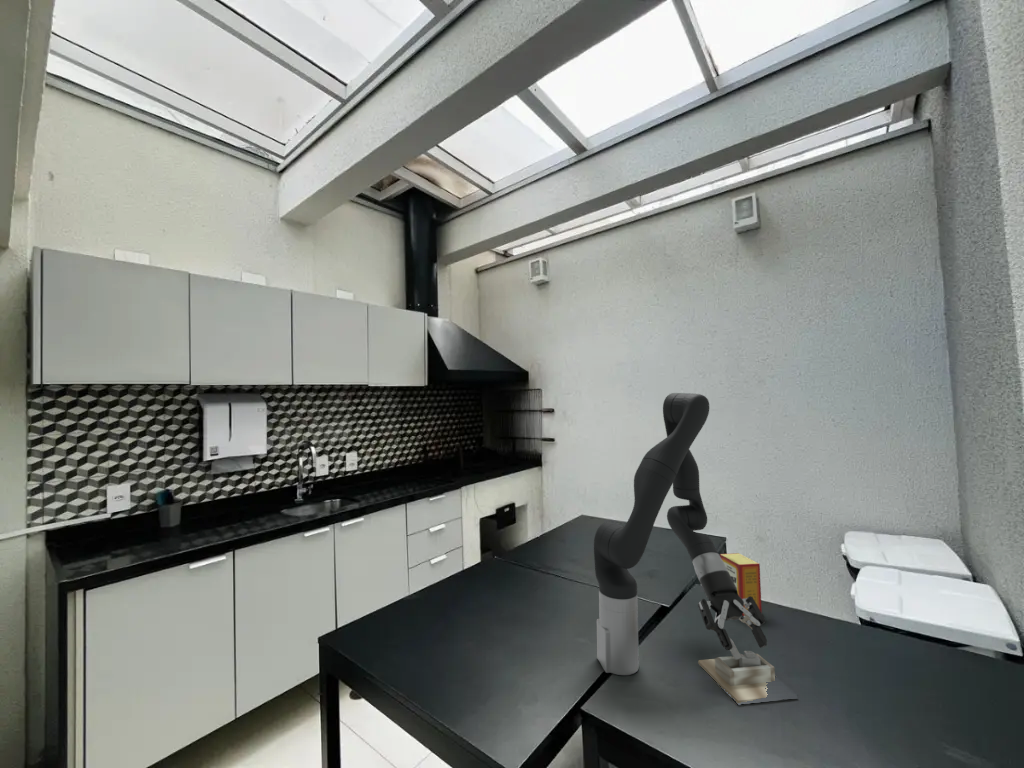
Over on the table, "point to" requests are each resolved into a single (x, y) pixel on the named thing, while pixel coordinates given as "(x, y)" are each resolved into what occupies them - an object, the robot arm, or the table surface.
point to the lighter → (745, 657)
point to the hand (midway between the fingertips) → (746, 647)
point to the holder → (740, 677)
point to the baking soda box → (744, 576)
